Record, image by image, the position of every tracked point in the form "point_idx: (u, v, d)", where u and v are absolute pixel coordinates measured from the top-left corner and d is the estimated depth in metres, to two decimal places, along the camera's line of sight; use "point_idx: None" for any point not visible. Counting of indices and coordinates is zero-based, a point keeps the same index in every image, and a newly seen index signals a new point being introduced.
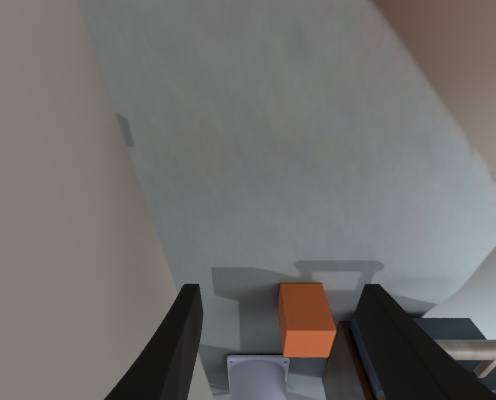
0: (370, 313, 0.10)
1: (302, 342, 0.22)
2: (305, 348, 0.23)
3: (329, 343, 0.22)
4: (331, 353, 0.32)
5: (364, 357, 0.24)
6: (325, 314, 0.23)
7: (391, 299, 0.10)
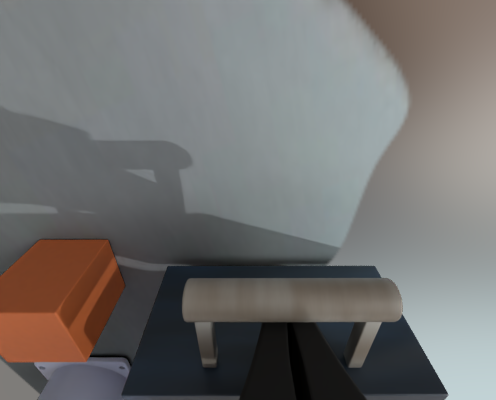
0: None
1: (14, 336, 0.12)
2: (28, 346, 0.13)
3: (64, 337, 0.12)
4: None
5: None
6: (63, 285, 0.12)
7: None
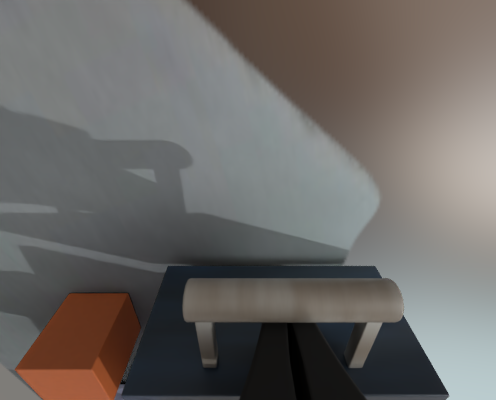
0: None
1: (55, 385, 0.15)
2: (65, 392, 0.15)
3: (96, 386, 0.15)
4: None
5: None
6: (95, 341, 0.15)
7: None
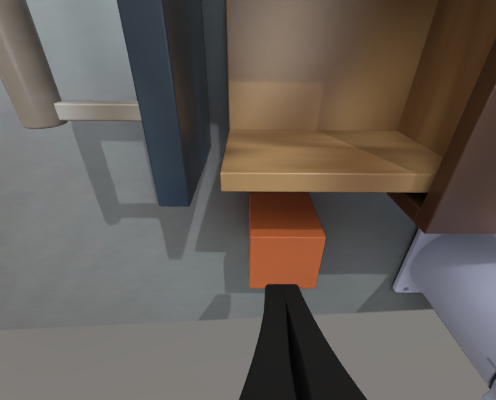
0: None
1: (278, 271, 0.15)
2: (293, 267, 0.15)
3: (283, 241, 0.14)
4: None
5: None
6: None
7: (300, 299, 0.10)
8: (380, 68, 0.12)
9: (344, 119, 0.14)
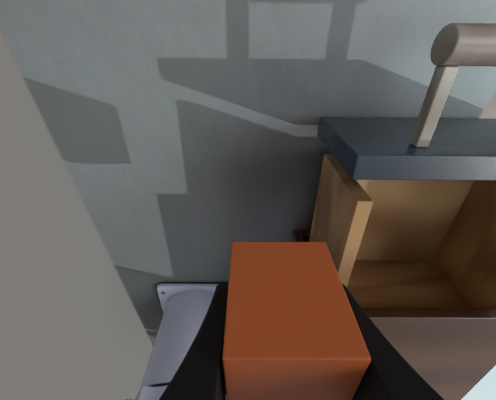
0: None
1: None
2: (305, 397, 0.08)
3: (288, 365, 0.07)
4: None
5: (335, 144, 0.14)
6: None
7: (352, 299, 0.10)
8: None
9: None
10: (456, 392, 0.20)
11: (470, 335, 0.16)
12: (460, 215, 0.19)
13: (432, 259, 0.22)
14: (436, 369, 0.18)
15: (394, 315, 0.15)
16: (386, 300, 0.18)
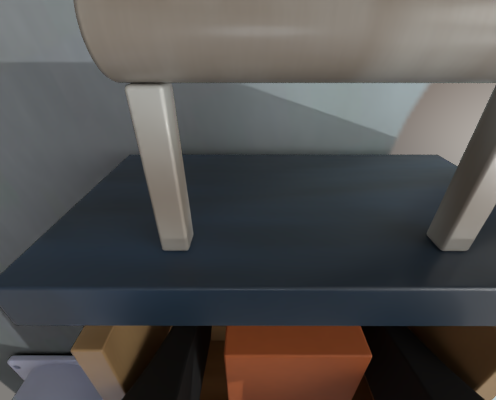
0: None
1: (280, 398, 0.08)
2: (306, 394, 0.08)
3: (289, 362, 0.07)
4: None
5: None
6: None
7: None
8: None
9: None
10: None
11: None
12: None
13: None
14: None
15: None
16: None
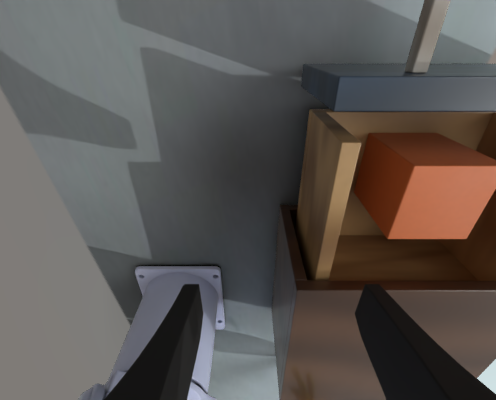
0: (370, 313, 0.10)
1: (431, 215, 0.13)
2: (451, 210, 0.12)
3: (454, 172, 0.11)
4: (275, 261, 0.23)
5: (317, 82, 0.11)
6: (393, 163, 0.13)
7: (391, 299, 0.10)
8: (350, 216, 0.19)
9: None
10: None
11: (477, 312, 0.14)
12: None
13: None
14: None
15: (389, 288, 0.13)
16: (381, 275, 0.16)
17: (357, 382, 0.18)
